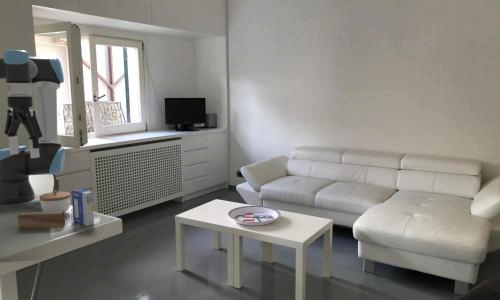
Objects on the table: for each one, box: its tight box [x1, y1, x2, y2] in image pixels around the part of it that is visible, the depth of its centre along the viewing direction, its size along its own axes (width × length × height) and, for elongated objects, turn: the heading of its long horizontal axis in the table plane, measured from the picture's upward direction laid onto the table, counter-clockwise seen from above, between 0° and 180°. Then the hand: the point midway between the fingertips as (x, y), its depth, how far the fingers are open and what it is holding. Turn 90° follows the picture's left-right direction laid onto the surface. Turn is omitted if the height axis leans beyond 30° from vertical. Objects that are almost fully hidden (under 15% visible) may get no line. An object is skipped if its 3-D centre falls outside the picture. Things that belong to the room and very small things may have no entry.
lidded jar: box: [39, 190, 72, 214], centre depth 154 cm, size 11×11×9 cm
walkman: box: [71, 188, 95, 227], centre depth 143 cm, size 8×3×12 cm, turn 59°
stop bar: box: [17, 211, 66, 231], centre depth 139 cm, size 3×14×5 cm, turn 99°
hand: (24, 156), depth 143 cm, fingers open, 13 cm apart
